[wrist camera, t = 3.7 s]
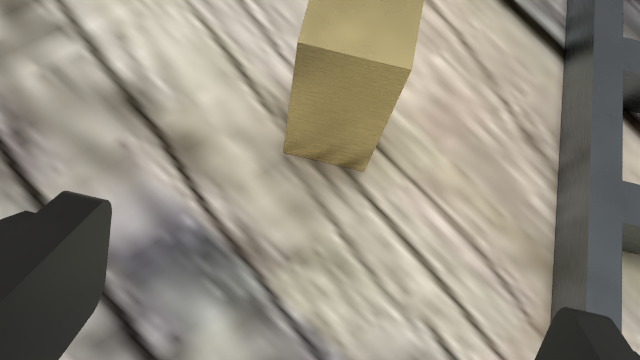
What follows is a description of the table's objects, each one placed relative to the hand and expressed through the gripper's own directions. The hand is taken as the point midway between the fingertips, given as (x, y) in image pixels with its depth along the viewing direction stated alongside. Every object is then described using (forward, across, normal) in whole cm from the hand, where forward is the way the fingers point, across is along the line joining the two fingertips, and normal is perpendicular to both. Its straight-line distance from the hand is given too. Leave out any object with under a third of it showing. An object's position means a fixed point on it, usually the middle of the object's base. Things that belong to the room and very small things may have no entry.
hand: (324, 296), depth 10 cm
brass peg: (+19, 0, +3) cm, 19 cm away
